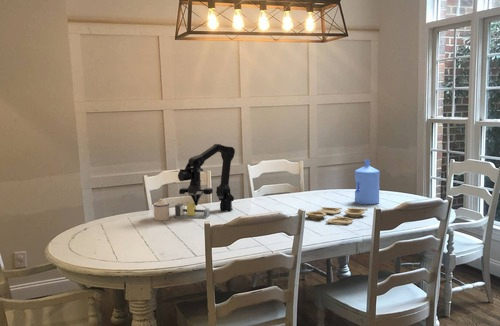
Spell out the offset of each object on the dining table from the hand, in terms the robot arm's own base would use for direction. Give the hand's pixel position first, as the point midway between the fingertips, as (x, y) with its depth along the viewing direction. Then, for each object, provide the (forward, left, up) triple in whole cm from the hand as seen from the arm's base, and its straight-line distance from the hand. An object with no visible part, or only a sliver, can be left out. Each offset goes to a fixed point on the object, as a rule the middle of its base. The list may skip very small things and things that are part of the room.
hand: (196, 205), depth 273 cm
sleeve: (+3, 0, -6) cm, 6 cm away
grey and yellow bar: (+2, 0, -7) cm, 7 cm away
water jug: (-99, -52, -7) cm, 112 cm away
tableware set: (-79, -9, -7) cm, 80 cm away
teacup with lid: (+20, +7, -7) cm, 22 cm away
